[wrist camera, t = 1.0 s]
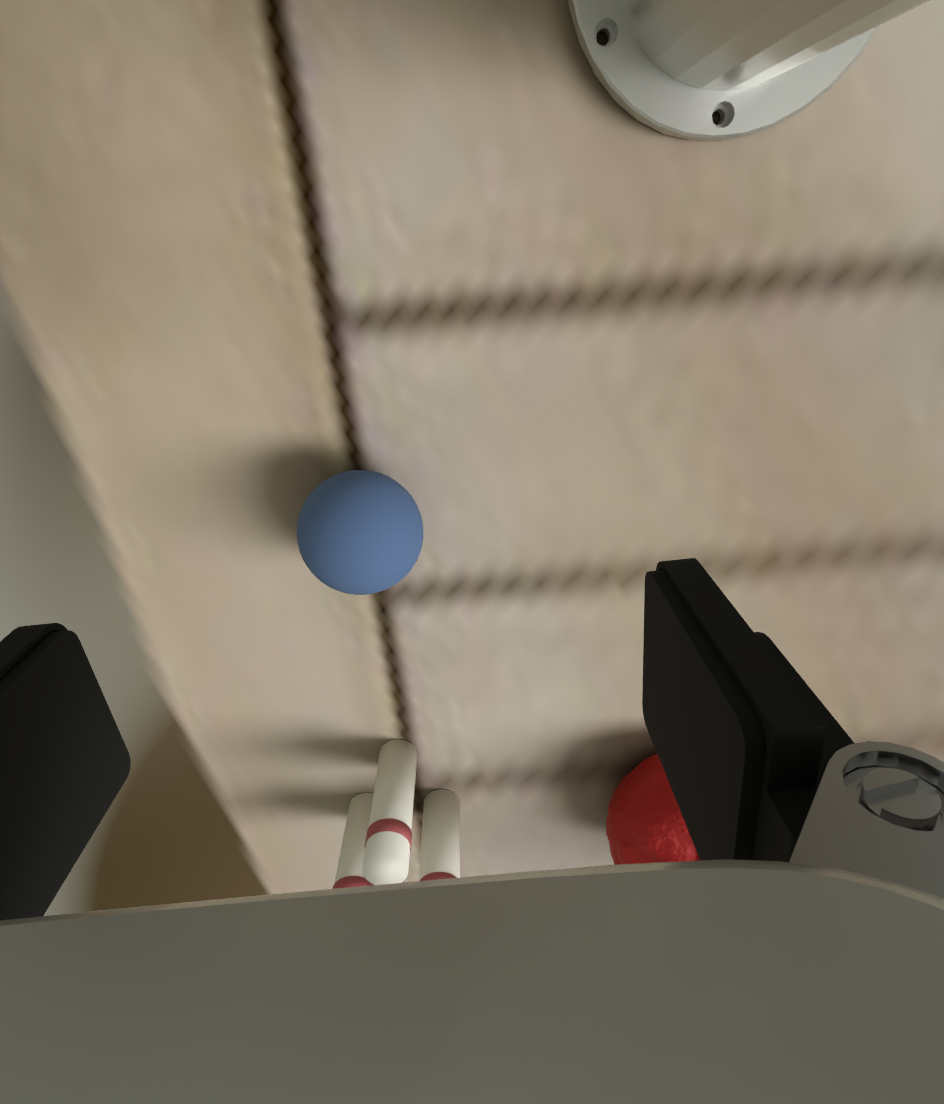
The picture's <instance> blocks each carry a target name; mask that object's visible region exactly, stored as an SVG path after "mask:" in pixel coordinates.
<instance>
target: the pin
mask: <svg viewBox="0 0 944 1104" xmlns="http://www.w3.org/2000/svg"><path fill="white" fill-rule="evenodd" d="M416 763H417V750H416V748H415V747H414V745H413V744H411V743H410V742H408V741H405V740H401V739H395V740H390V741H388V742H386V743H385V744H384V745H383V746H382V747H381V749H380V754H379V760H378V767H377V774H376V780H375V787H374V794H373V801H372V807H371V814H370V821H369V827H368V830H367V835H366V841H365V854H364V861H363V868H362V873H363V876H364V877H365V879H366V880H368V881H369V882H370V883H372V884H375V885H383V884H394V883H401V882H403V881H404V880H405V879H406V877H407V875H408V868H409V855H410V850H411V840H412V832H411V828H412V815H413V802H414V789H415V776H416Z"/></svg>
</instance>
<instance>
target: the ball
mask: <svg viewBox="0 0 944 1104" xmlns="http://www.w3.org/2000/svg"><path fill="white" fill-rule="evenodd" d="M297 542H298V546H299V550H300V553H301V556H302V558H303V560H304V562H305V564H306V565H307V567H308V568H309V569H310V571H311V572H312V573H313V574H314V575H315V576H316V577H317V578H318V579H319V580H320V581H321V582H323V583H324V584H326V585H327V586H329V587H331V588H333V589H335V590H338V591H340V592H344V593H348V594H355V595H365V594H372V593H377V592H380V591H383V590H386V589H388V588H390V587H392V586H393V585H395V584H396V583H398V582H399V581H400V580H401V579H403V578H404V577H405V576H406V575H407V574H408V573H409V571H410V570H411V569H412V567H413V566H414V564H415V562H416V561H417V559H418V556H419V554H420V550H421V547H422V542H423V523H422V518H421V515H420V511H419V509H418V507H417V505H416V503H415V501H414V499H413V498H412V496H411V495H410V494H409V493H408V491H407V490H406V489H405V488H404V487H402V486H401V485H400V484H399V483H398V482H396V481H395V480H393V479H391V478H390V477H388V476H386V475H383V474H381V473H377V472H373V471H367V470H353V471H346V472H342V473H339V474H336V475H334V476H332V477H330V478H328V479H326V480H325V481H323V482H322V483H321V484H319V485H318V486H317V487H316V488H315V489H314V490H313V491H312V492H311V493H310V495H309V496H308V498H307V499H306V500H305V502H304V504H303V506H302V509H301V511H300V514H299V518H298V523H297Z"/></svg>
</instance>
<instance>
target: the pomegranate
mask: <svg viewBox="0 0 944 1104" xmlns="http://www.w3.org/2000/svg"><path fill="white" fill-rule="evenodd" d="M606 834H607V837H608V840H609V844H610V851H611V855H612V858H613V861H614V864H615V865H619V864H637V863H655V862H680V861H700V858H699V856H698V853H697V851H696V848H695V846H694V843H693V841H692V838H691V836H690V833H689V831H688V828H687V826H686V823H685V821H684V819H683V816H682V814H681V811H680V809H679V806H678V804H677V801H676V799H675V796H674V794H673V791H672V789H671V786H670V784H669V781H668V779H667V776H666V774H665V771H664V769H663V767H662V764H661V762H660V759H659V757H658V754H654V755H652V756H650V757H648V758H646V759H645V760H643V761H642V762H641V763H640V764H639V765H637V766H636V767H635V768H634V769H633V770H632V771H631V772H630V773H629V774H627V775H626V776H625V777H624V778H623V779H622V781H621V782H620V784H619V785H618V786H617V788H616V789H615V791H614V793H613V796H612V799H611V800H610V802H609V805H608V815H607V821H606Z"/></svg>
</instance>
